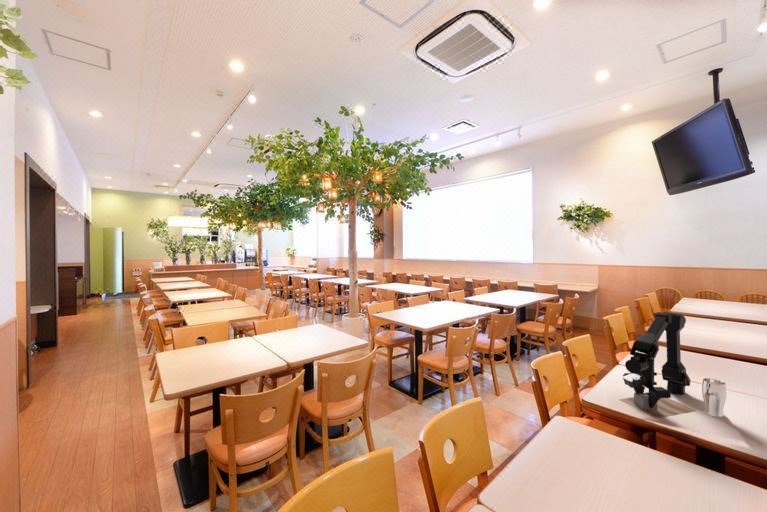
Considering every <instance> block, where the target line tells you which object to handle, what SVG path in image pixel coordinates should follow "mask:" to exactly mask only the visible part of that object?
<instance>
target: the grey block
mask: <svg viewBox="0 0 767 512" xmlns="http://www.w3.org/2000/svg"><path fill="white" fill-rule="evenodd" d="M646 393H647V392H644V393H635V392H633V397H634V403H635V404H636V405H638V406H639V407H640V408H642V409H643V410H657V403H656V404H655V406H654V407H653V408H650V407H649V398H648V395H647V394H646Z"/></svg>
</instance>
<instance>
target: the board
mask: <svg viewBox="0 0 767 512" xmlns="http://www.w3.org/2000/svg"><path fill="white" fill-rule="evenodd" d="M618 400H619V401H620V402H623V403H624V404H626V405H628V406H630V407H633V408H635V409H637V410H638V411H640V412H642V413H643V414H646V415H648V416H650V417H652V418H654V419H660V418H665V417H671V416H677V415H682V414H688V413H694V412H697V410H696V409H694V408H691V407H689V406H687V405H684V404H682V403H680V402H678V401H676V400H673V399H671V398H660V399H659V400H658V402H657V410H643V409H642V408H640V407H639V406H638V405H636V404H635V403H634V396H632V397H626V398H618Z"/></svg>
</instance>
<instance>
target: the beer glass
mask: <svg viewBox="0 0 767 512" xmlns="http://www.w3.org/2000/svg"><path fill="white" fill-rule="evenodd" d="M701 391H702V399H703V403H704V409H703V411H704V413H705V414H707V415H709V416H712V417H715V418H724V416H725V415H724V407H725V405H726V402H727V393H728V392H727V382H725V381H722V380H720V379H717V378H711V377H705V378H702V385H701Z"/></svg>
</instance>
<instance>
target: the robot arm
mask: <svg viewBox="0 0 767 512" xmlns="http://www.w3.org/2000/svg"><path fill="white" fill-rule="evenodd" d="M686 322H687V320H686V317H685V315H684V314H682V313H676V312H670V311H663V312H662V313H661V312H658V313H657V312H656V313H655V316H654V319H653V321H652V323H651V324H650V325H649V327H648V329H647V330H646V332H645V333H643V334H642V335H641V334H640V335H639V336H638V337H637V338H636V339H635V340H634V341H633V343H632V347H631V349H630V352H629V355H630V359H628V360H626V361H625V363H624V365H625V369H626V370H627V371H628V372H625V373H624V374H623V375H622V380H623V381H624V385H627V386H629V388H630V389H631V388H632V389H633V390H634V393H646V394H647V395H648V398H649V407H650V408H653V407H654V406H655V404H656V403H657V402H658V400H659V399H660V398H669V399H671V398H672V395H680V396H681V395H682V396H683V395H685V393H686V387H690V386H691V382H692V381H691V378H690V376H689V374H688V373H687V369H686V368H687V367H685V365H684V364H683V362H682V361H681V359H682V358H681V331H682V330H683V329H684V328H685V325H686ZM664 331H665V332H666V333H665V337H666V339H665V341H666V342H665V343H666V362H665V363H664V364H662V366H661V377H662V381H666V382H667V384H666V388H664V387H662V386H658V382H656V381H655V376H658V373H657V372H656V371H655V358H656V357H657V354H658V353H659V351H660V348H659V347H660V346H659V343H658V342H659V340H660V339H661V337H662V335H663V334H664ZM645 389H647V390H648V392H645Z"/></svg>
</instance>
